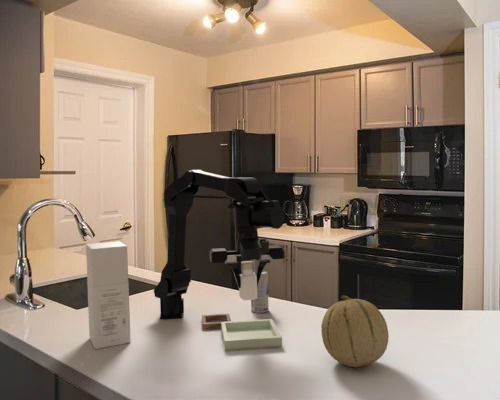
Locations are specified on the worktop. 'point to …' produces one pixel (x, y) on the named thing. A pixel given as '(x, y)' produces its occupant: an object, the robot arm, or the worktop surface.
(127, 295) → the tall white carton
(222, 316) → the holder
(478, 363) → the worktop surface
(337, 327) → the cantaloupe
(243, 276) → the salt shaker
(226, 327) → the tray
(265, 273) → the energy drink
